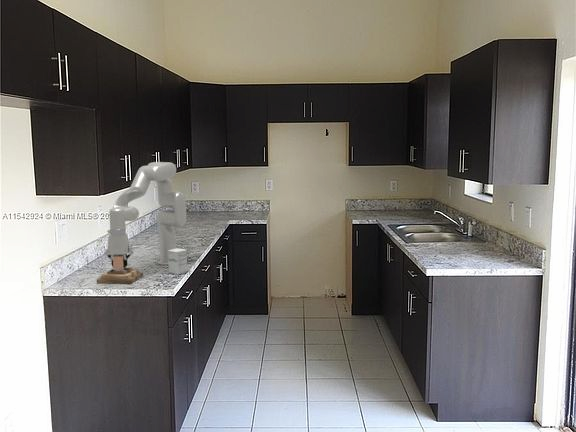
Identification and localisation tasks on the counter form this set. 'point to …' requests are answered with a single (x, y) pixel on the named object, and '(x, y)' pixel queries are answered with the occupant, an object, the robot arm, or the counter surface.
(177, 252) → the supplement box
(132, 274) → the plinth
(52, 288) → the counter surface
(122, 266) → the pillar block
